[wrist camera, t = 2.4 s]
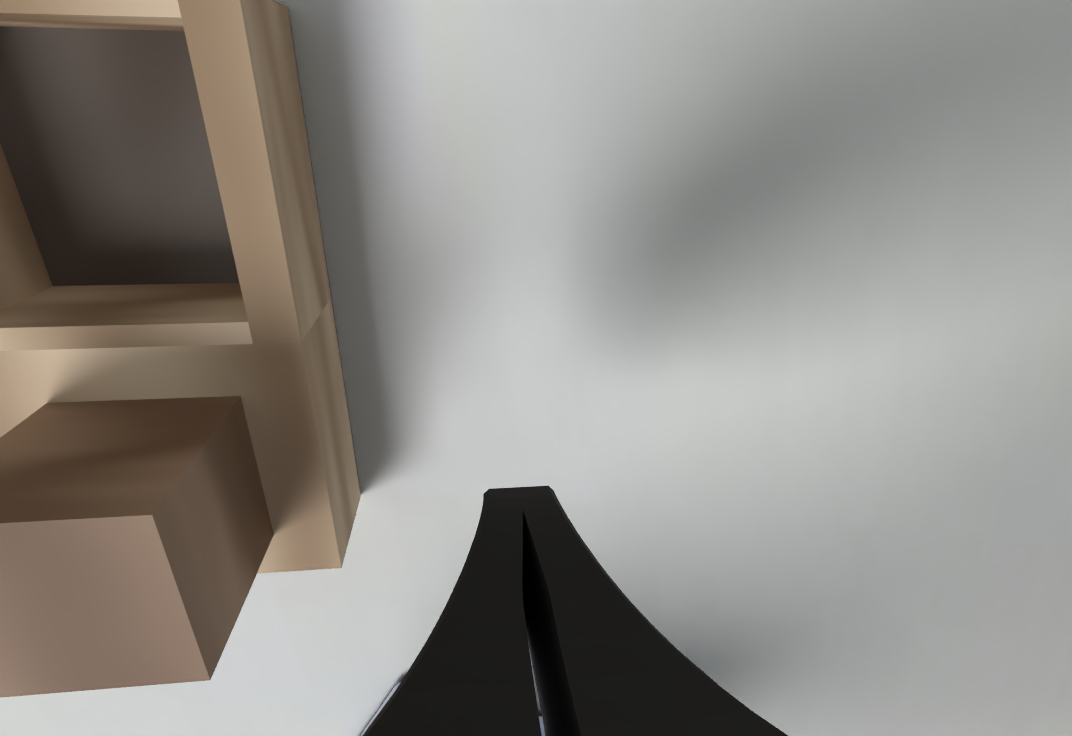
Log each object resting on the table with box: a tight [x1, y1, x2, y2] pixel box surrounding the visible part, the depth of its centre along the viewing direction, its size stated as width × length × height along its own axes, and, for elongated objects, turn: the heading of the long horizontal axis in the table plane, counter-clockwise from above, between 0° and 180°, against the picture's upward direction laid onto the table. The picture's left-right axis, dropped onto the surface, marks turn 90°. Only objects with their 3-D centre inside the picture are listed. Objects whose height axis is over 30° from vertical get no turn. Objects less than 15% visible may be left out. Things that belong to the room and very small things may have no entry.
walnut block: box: [0, 396, 274, 697], centre depth 12 cm, size 4×4×4 cm
